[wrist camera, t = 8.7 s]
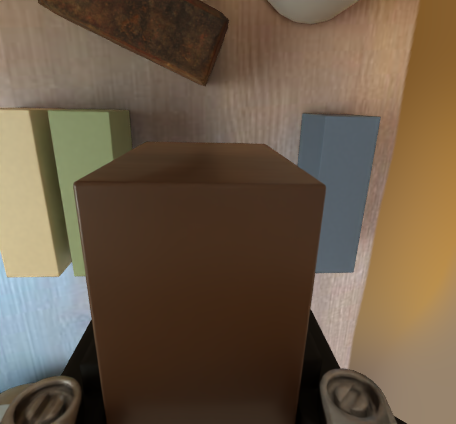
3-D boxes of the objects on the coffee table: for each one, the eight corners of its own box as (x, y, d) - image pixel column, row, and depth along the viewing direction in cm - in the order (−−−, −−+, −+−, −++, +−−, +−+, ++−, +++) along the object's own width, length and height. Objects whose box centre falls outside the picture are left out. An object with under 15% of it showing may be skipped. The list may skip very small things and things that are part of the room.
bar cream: (16, 107, 22) (-36, 108, 18) (66, 108, 22) (28, 109, 18) (43, 246, 26) (6, 277, 21) (86, 245, 26) (59, 276, 21)
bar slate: (302, 113, 24) (326, 115, 19) (346, 114, 24) (381, 116, 19) (289, 244, 27) (307, 273, 22) (328, 243, 27) (353, 272, 23)
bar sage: (80, 108, 22) (46, 110, 18) (129, 109, 23) (108, 111, 18) (98, 245, 26) (74, 276, 21) (140, 245, 26) (125, 276, 22)
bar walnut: (145, 141, 9) (69, 182, 4) (266, 143, 9) (328, 184, 4) (161, 420, 12) (132, 615, 8) (248, 417, 13) (271, 604, 8)
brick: (227, 32, 21) (232, 13, 17) (204, 88, 23) (204, 84, 18) (74, -49, 19) (35, -94, 15) (58, 16, 21) (17, -8, 16)
